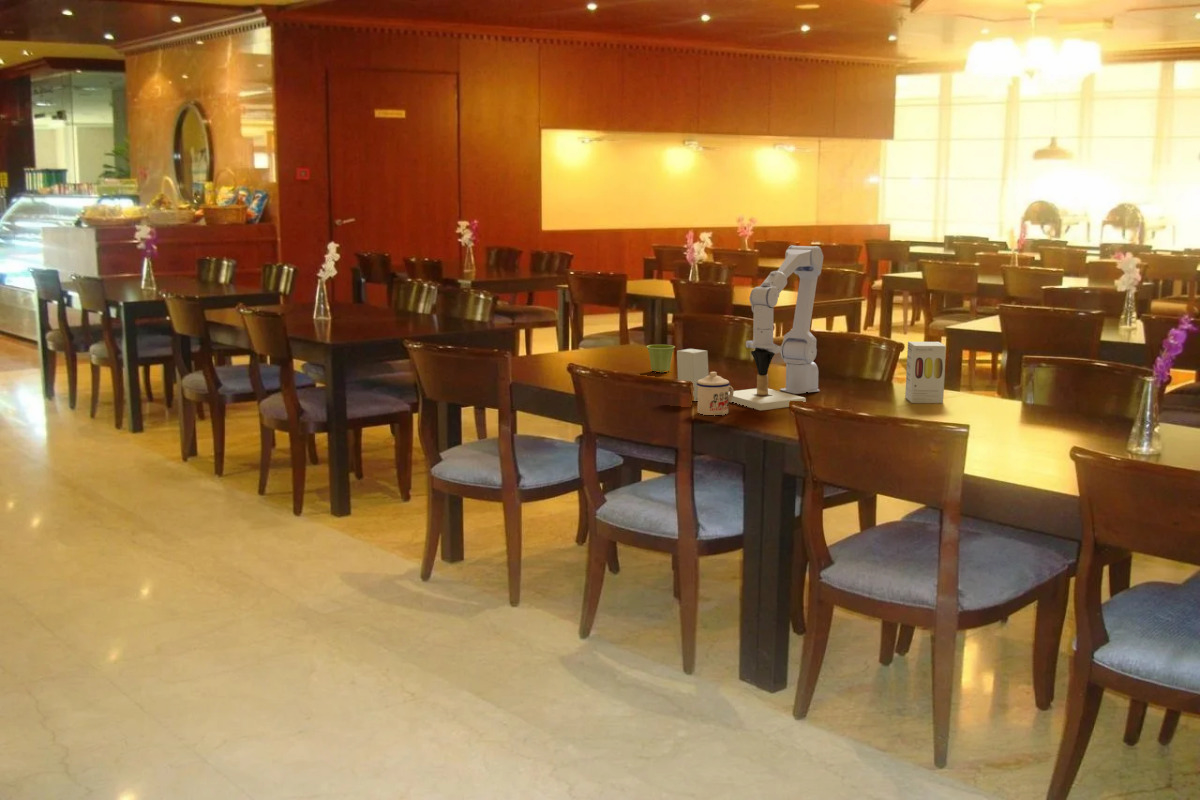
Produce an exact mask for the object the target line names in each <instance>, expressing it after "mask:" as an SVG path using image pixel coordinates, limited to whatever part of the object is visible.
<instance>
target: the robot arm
mask: <svg viewBox="0 0 1200 800" xmlns="http://www.w3.org/2000/svg"><path fill="white" fill-rule="evenodd" d="M784 254H785V255H784V260H783V262H782V263H781V265H780V266H779V268H778V269H777V270H773V271H770V273H769V274H768V276H767V277H766V278H765V279H764V281H763V282H762V283H761V284H760V286H755V287H754V288H752V289H751V292H750V296H749V303H750V305H751V312H752V313H753V320H752V321H753V322H752V323H753V328H752V331H753V333H752V334H753V336H752V337H753V340H746V341H745V348H747V349H748V348H750V349H754V350H751V351H750V353H751V356H752V358H753V359H754V360H753V361H754V362H755V365H756V368H757V375H758V374H759V375H768V372H769V368H770V364H771V362H772V360H773V358H774V356H775V355H776V354H780V356H781V359H782V360H783V363H785V387H784V388H783V387H782V388H779V391H780V392H784V393H788V394H792V395H798V394H799V395H800V394H807V393H806V392H808V393H816V392H820V391H821V390H820V389H819V367H818V365H817V364H816V362H814V360H815V359H816V357H817V354H818V353H817V352H818V349H817V337H815V336H814V334H812V332H811V331H810V329H811V323H812V322H811V321H812V315H813V309H814V303H815V296H816V290H817V284H818V278H819V276H820V275H821V274H822V269H823V264H824V263H823V262H824V253H823V250H822V249H821V247H820V246H818V245H815V246H809V245H808V246H807V245H794V244H793V245H792V244H791V245H789V246H788V247H787V249H786V251H785V253H784ZM793 273H794V274H795V275H797V276H798V278H799V284H798V288H797V289H798V290H797V297H796V302H795V303H796V304H795V309H794V318H793V323H792V328H791V330H789V331H788V332H787V333H785V334H784V336H783V340H782V343H781V345H778V344H776V343H774V316H775V315H774V308H775V306H777V304H778V300H779V297H780V293H781V292H782V291H783V290H784V288H785V287H786V286H787V284H788V278H789V277H790V276H791V275H792V274H793Z"/></svg>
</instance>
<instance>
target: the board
mask: <svg viewBox="0 0 1200 800" xmlns="http://www.w3.org/2000/svg"><path fill="white" fill-rule="evenodd" d="M729 394H730V391H729ZM790 401H803V402H806V403H807V398H806V397H804V396H799V395H797V394H793V393H789V392H785V391H781V390H775V389H774V388H773V389H772V388H769V387H768V396H767V397H758V396H757V387H755V388H748V389H740V390H734V394H733V397H732V399H731V401H730V402H729V403H732V402H734V403H733V404H735V403H737V404H736V405H739V404H740V405H739V406H742V405H744V406H743V407H746V406H747V407H746V408H750V409H753V408H754V410H757V411H767V410H774V409H775V410H776V409H782V408H790V407H789V402H790Z"/></svg>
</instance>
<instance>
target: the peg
mask: <svg viewBox="0 0 1200 800" xmlns="http://www.w3.org/2000/svg"><path fill="white" fill-rule="evenodd" d="M756 388H757V396H758V397H767V396H768V388H769V374H767V375H759V374H758V373H757V375H756Z"/></svg>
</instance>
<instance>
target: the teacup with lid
mask: <svg viewBox="0 0 1200 800" xmlns="http://www.w3.org/2000/svg"><path fill="white" fill-rule="evenodd" d="M717 373H718V372H717V371H710V372H709V376H706V377H705V378H703V379H700V380H698V381H697V385H698V402H697V414H698V413H700V414H703V415H702V416H704V415H714V416H713V417H716V416H715V415H722V416H726V415H728V414H729V403H731V402H730V401H731V399H732V397H733V394H734V391H735V390H734V388H733V387H732V386H731V385H730V381H729V380H728V379H725V378H723V377H722V376H720V375H717ZM729 392H730V394H729ZM700 414H699V415H700ZM725 414H726V415H725Z"/></svg>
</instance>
